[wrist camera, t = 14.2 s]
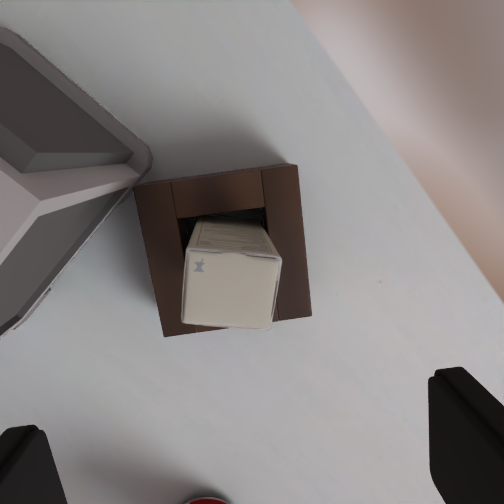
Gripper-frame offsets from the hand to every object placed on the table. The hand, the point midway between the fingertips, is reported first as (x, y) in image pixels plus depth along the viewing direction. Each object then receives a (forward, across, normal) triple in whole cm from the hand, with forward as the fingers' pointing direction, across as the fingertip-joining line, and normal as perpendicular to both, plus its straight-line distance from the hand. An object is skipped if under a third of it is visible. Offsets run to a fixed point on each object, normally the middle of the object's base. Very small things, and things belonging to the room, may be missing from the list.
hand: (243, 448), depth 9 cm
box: (+22, +1, 0) cm, 22 cm away
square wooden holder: (+22, +1, 0) cm, 22 cm away
